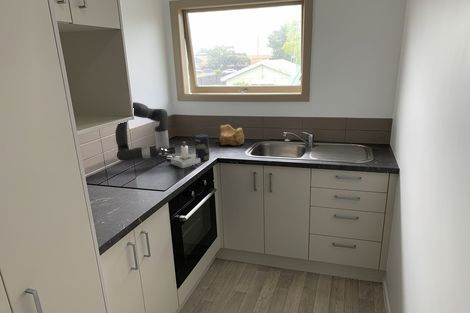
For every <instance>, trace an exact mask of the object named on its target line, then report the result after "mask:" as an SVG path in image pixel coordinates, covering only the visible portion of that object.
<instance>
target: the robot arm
mask: <svg viewBox="0 0 470 313" xmlns="http://www.w3.org/2000/svg"><path fill="white" fill-rule="evenodd" d="M132 102H133V101H132ZM133 108H134V116H133V117H137V118H142V119H149V120H150V121H154V122H159V125H157V126H155V127H154V135H155V136H154V137H155V145H151V146H149V145H148V146H142V147H134V148H129V139H128V121H127V122H124V123H120V124H118V123H117V125H116V128H115V142H116V146H117V153H116V158H117V159H118V160H119V161H123V162H125V161H131V160H136V159H150V158H151V159H153V158H158V156H159V157H160V156H169V155H172V154H174V155H175V154H176V147H175V146H170V142H169V133H168V132H169V131H168V127H169V118H168V117H169V115H168V112H167V109H165V108H150V107H148V106H147V105H146V104H144V103H140V102H135V101H134V102H133Z"/></svg>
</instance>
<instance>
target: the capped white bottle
mask: <svg viewBox="0 0 470 313" xmlns="http://www.w3.org/2000/svg"><path fill="white" fill-rule="evenodd" d="M180 153H181V155H180V156H182V160H186V159H189V156H188V154H189V146H188V145H186V141H182V145H181V146H180Z"/></svg>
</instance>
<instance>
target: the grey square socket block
mask: <svg viewBox="0 0 470 313" xmlns="http://www.w3.org/2000/svg"><path fill="white" fill-rule="evenodd" d="M188 156H189V159H186V160H182V155H179V156H175V157H171V158H170V164H171V165H173V166H175V167H178V168H180V169H185V168H189V167H192V165H193V166H196V165H195V164H197V165H199V164H198V163H200V164H201V160H200V158H199V157H196V155H192V154H189V153H188Z"/></svg>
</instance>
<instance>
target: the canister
mask: <svg viewBox="0 0 470 313" xmlns="http://www.w3.org/2000/svg"><path fill="white" fill-rule="evenodd" d="M194 152H195V156H196V157H199V158H200V161H207V160H209V159H210V157H211V156H210V142H209V136H208V134H203V133H201V134H196V135H194Z"/></svg>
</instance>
